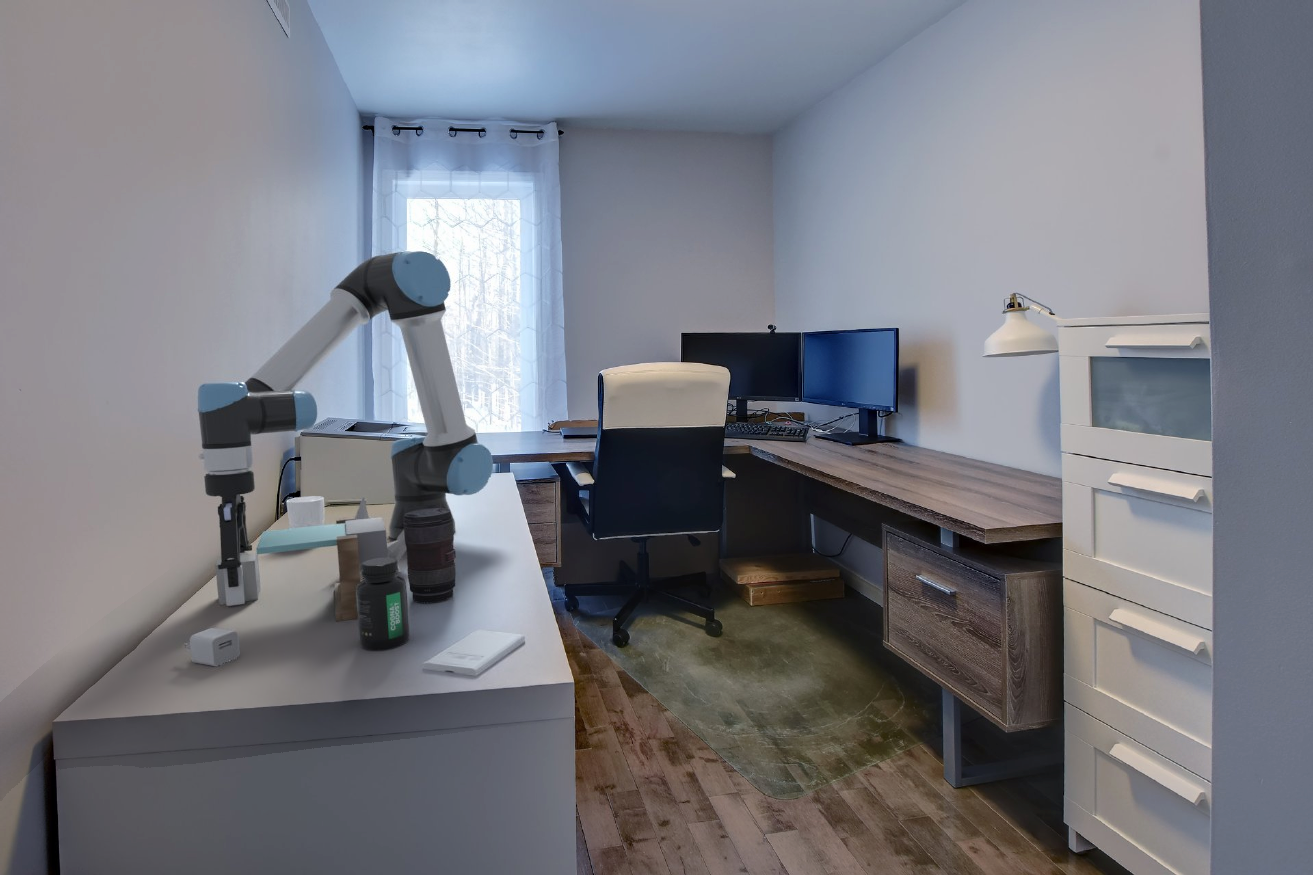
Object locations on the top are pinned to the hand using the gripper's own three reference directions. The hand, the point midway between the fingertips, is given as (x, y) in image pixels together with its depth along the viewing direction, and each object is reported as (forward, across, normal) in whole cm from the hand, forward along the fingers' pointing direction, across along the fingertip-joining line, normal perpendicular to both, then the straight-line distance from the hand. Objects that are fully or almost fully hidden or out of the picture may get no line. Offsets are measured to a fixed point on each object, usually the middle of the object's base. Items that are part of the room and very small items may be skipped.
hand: (239, 595), depth 136 cm
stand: (0, +13, +18) cm, 22 cm away
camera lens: (0, +17, +31) cm, 36 cm away
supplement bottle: (0, +36, +22) cm, 42 cm away
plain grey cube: (0, 0, 0) cm, 0 cm away
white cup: (0, -42, +10) cm, 43 cm away
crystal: (0, -6, +23) cm, 24 cm away
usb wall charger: (+1, +31, -1) cm, 31 cm away
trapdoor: (-8, +13, +15) cm, 21 cm away
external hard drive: (+1, +47, +33) cm, 58 cm away
